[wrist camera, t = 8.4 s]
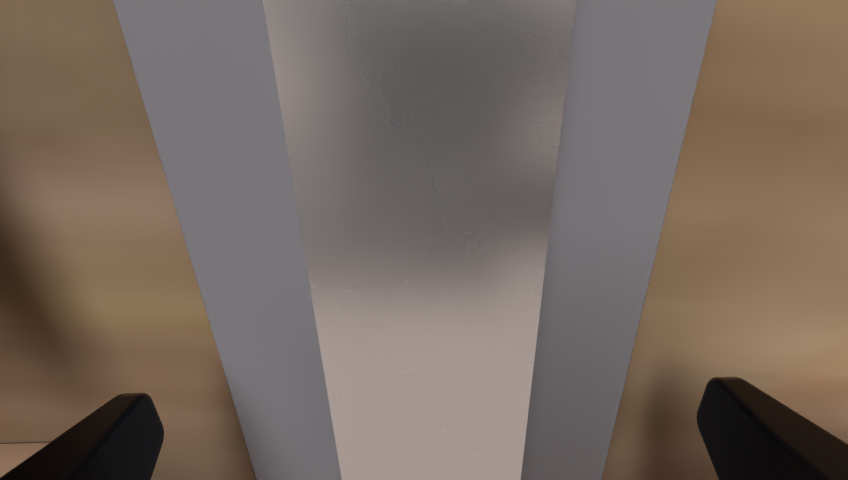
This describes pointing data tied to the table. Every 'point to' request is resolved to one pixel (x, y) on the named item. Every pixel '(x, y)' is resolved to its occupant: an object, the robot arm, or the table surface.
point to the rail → (424, 218)
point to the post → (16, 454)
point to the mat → (282, 242)
